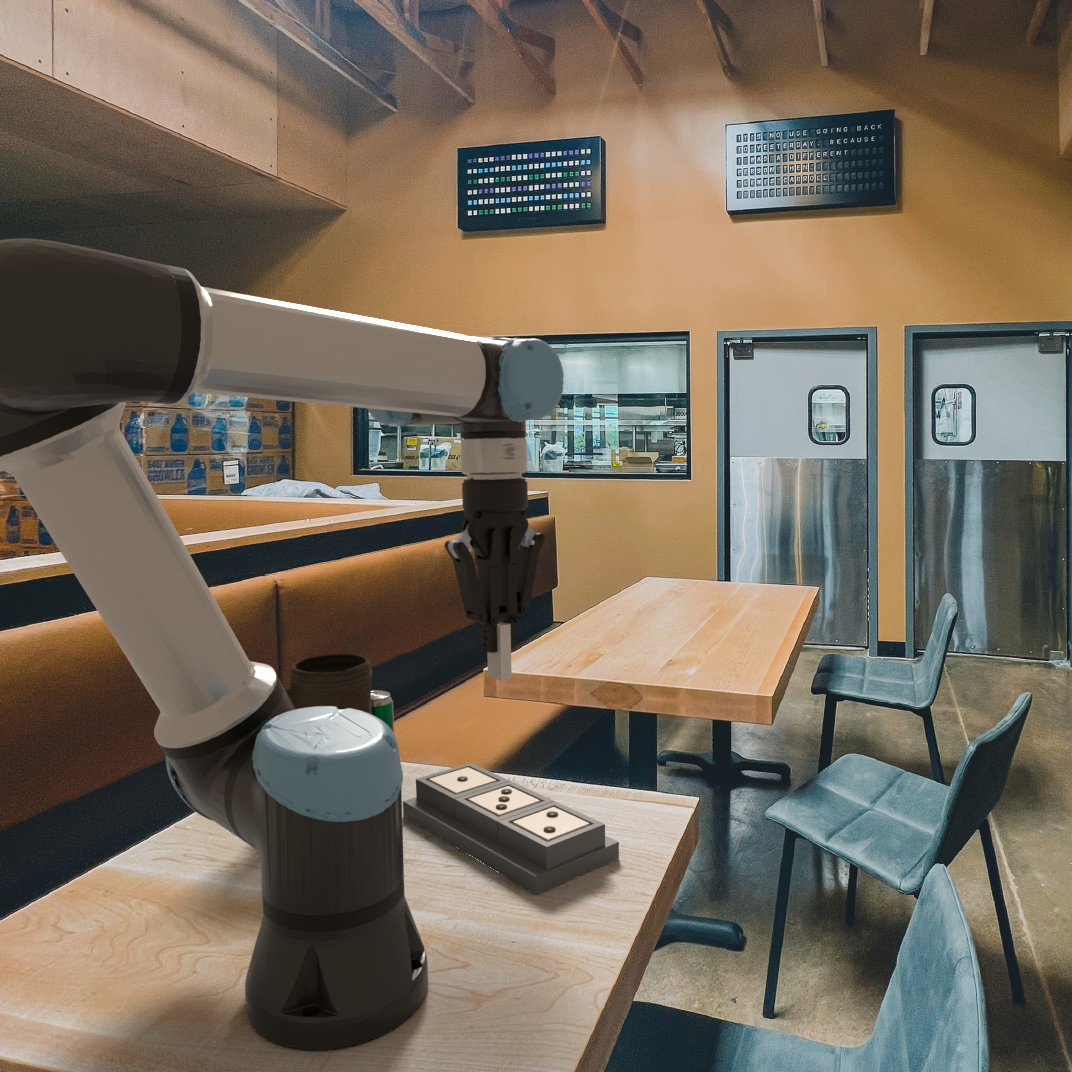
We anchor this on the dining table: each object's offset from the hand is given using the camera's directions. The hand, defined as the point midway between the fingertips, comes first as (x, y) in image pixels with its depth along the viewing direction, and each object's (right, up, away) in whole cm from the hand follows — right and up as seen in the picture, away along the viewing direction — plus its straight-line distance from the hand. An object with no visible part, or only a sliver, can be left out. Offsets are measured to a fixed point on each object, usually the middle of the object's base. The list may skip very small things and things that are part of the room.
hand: (499, 677), depth 105 cm
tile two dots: (+6, -17, -6) cm, 19 cm away
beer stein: (-23, -19, +7) cm, 30 cm away
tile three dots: (+1, -17, 0) cm, 17 cm away
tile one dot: (-5, -16, +7) cm, 18 cm away
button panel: (+1, -19, +1) cm, 19 cm away
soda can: (-18, -17, +20) cm, 32 cm away
